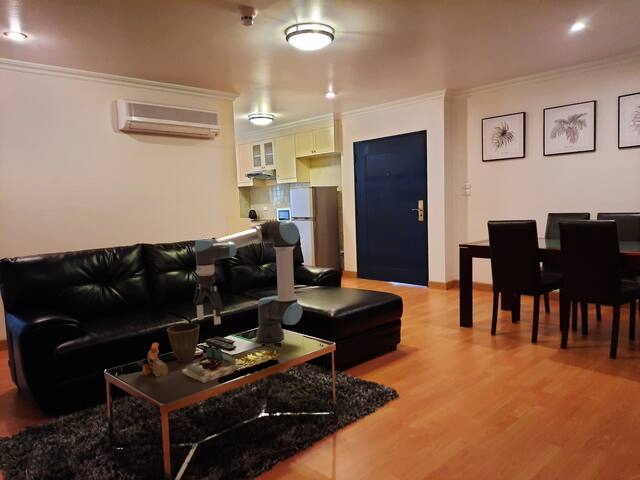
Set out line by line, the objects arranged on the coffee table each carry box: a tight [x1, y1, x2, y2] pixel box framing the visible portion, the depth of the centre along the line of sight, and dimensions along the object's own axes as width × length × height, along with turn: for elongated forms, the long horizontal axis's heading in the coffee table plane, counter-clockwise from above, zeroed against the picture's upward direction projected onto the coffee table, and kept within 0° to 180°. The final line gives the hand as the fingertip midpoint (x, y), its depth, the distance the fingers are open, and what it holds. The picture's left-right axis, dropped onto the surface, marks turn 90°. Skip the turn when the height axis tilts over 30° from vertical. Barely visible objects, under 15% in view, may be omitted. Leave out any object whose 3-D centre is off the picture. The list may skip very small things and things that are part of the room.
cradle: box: [181, 354, 242, 384], centre depth 198 cm, size 19×18×4 cm
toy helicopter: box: [142, 342, 169, 378], centre depth 193 cm, size 8×21×14 cm, turn 39°
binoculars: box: [198, 342, 223, 370], centre depth 197 cm, size 9×11×10 cm
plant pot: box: [166, 322, 200, 363], centre depth 214 cm, size 15×15×16 cm
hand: (208, 321), depth 196 cm, fingers open, 13 cm apart
